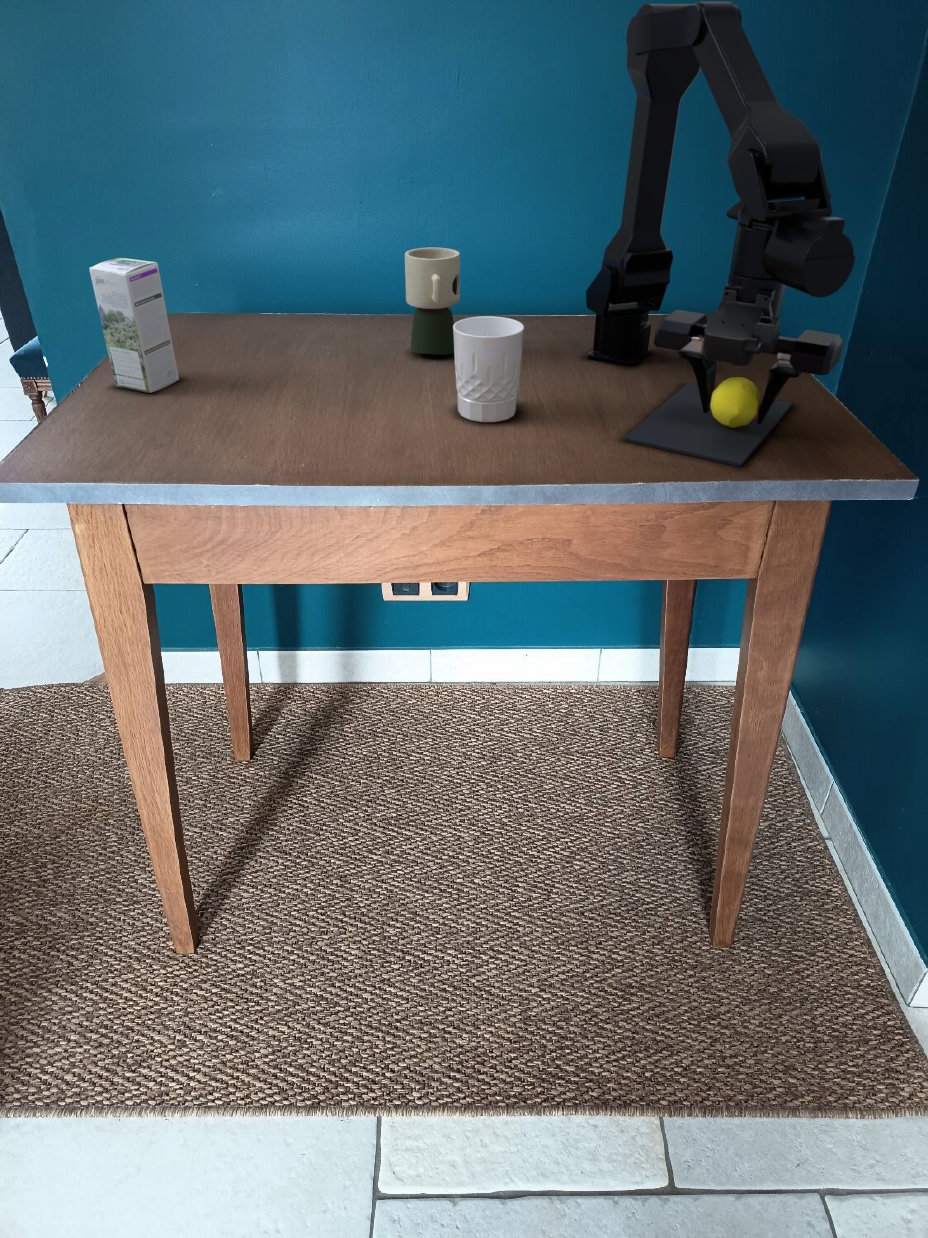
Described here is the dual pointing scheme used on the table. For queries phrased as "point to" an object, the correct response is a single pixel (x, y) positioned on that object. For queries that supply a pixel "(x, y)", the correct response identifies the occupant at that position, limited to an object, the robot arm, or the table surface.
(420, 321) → the character mug
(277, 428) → the table surface
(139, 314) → the syrup box
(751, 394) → the lemon
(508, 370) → the white cup
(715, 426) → the desk mat
